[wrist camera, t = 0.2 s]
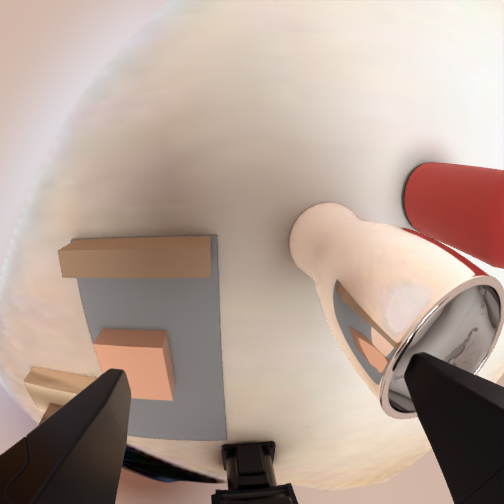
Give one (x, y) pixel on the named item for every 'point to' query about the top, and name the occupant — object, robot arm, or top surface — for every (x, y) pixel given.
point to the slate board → (160, 321)
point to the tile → (139, 360)
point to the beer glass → (396, 299)
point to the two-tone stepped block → (53, 389)
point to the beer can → (459, 208)
